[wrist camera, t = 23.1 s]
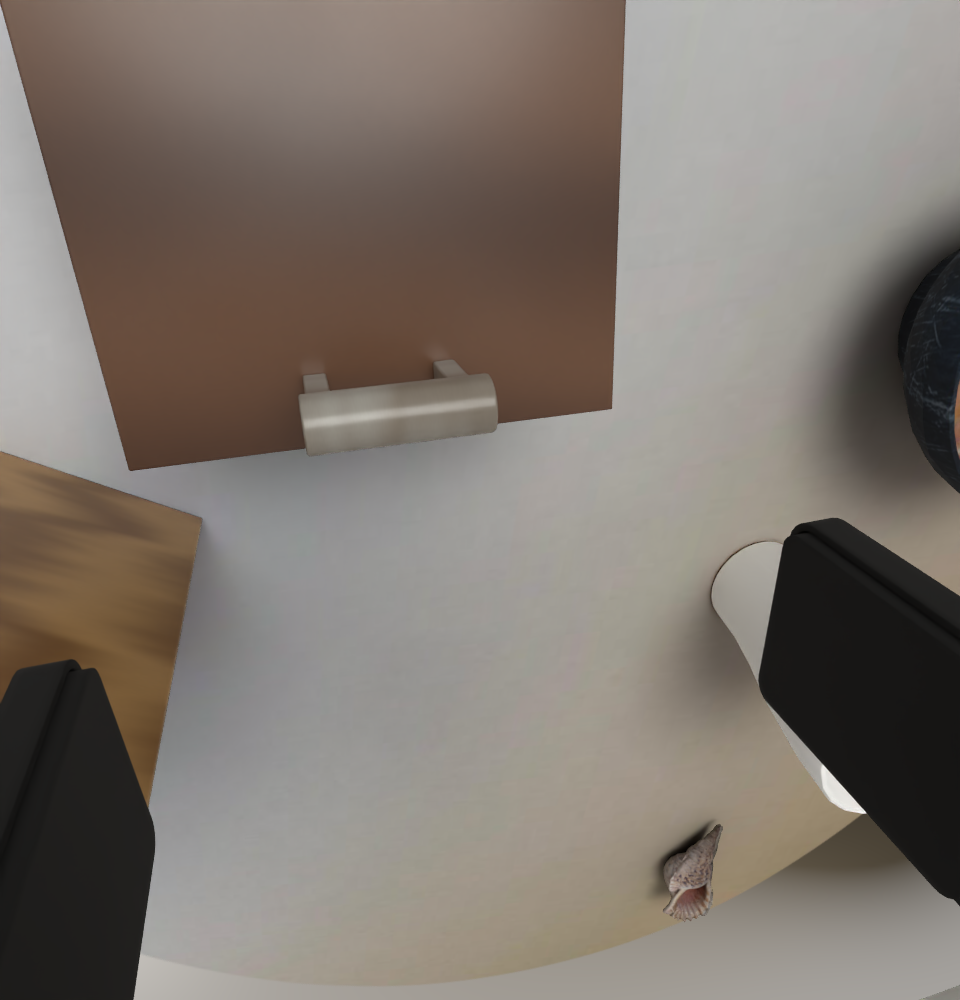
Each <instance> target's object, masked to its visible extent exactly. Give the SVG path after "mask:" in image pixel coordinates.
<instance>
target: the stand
mask: <svg viewBox="0 0 960 1000" xmlns="http://www.w3.org/2000/svg"><path fill="white" fill-rule="evenodd" d="M201 524H202V518H199V517H196V516H193V515H190V514H187V513H184V512H181V511H178V510H175V509H172V508H169V507H166V506H163V505H160V504H157V503H154V502H151V501H148V500H145V499H142V498H139V497H136V496H133V495H130V494H127V493H124V492H121V491H118V490H115V489H112V488H109V487H106V486H103V485H100V484H97V483H94V482H91V481H88V480H85V479H82V478H79V477H76V476H73V475H70V474H67V473H64V472H61V471H58V470H55V469H52V468H49V467H46V466H43V465H40V464H37V463H34V462H31V461H28V460H24V459H21V458H18V457H15V456H12V455H9V454H6V453H3V452H0V703H1V701H2V699H3V697H4V694H5V692H6V690H7V688H8V686H9V683H10V681H11V679H12V677H13V675H14V674H15V672H16V671H17V670H19V669H21V668H25V667H31V666H36V665H42V664H47V663H52V662H58V661H63V660H68V659H73V660H76V661H77V662H78V663H79V665H80V667H81V669H87V668H95V669H96V670H97V671H98V673H99V675H100V677H101V680H102V682H103V685H104V688H105V691H106V693H107V696H108V699H109V702H110V705H111V707H112V710H113V713H114V716H115V718H116V721H117V724H118V727H119V729H120V732H121V735H122V738H123V740H124V743H125V746H126V749H127V751H128V754H129V757H130V760H131V762H132V765H133V768H134V771H135V774H136V776H137V779H138V782H139V785H140V787H141V790H142V793H143V796H144V798H145V801H146V804H147V807H149V802H150V796H151V791H152V786H153V780H154V775H155V770H156V764H157V759H158V754H159V748H160V743H161V738H162V732H163V727H164V722H165V716H166V711H167V706H168V700H169V695H170V690H171V684H172V679H173V674H174V668H175V663H176V657H177V652H178V647H179V641H180V636H181V631H182V625H183V620H184V615H185V609H186V604H187V599H188V593H189V588H190V583H191V577H192V572H193V567H194V561H195V556H196V551H197V545H198V540H199V535H200V529H201Z"/></svg>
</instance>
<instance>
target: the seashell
mask: <svg viewBox="0 0 960 1000" xmlns="http://www.w3.org/2000/svg"><path fill="white" fill-rule="evenodd" d="M722 830H723V827H722V826H721V825H720V824H718V825H716V826H715V827H714V829H713V830H712V831H711V832H710V833H709V834H707V836H706V837H705V838H704V839H701V840H699V841H698V842H697V843H696V844H695V845H692V846H691V847H690V848H688V850H687V851H686V852H685V853H678V854H676V855H674V856H672V857H671V858H670V859H669V860H668V861H667V862H666V864H665V866H664V871H663V874H664V881H665V883H666V886H667V888H668V890H669V892H670V895H671V900H670V902H669V904H668V905H667V906H666V908H664V909H663V912H664V913H666V914H669V915H670V916H672V917H673V918H674V919H675V918H677V920H679V919H682V920H683V921H684V922H685V921H686V919H688V920H690V921H692V918H696V919H697V918H698V915H702V916H705V915H706V914H707V913H708V911H709V910H710V907H711V906H712V898H713V890H712V892H711V887H712V886H710V885H711V879H712V871H713V859H714V857H715V854H716V851H717V848H718V842H719V839H720V836H721V832H722Z"/></svg>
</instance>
